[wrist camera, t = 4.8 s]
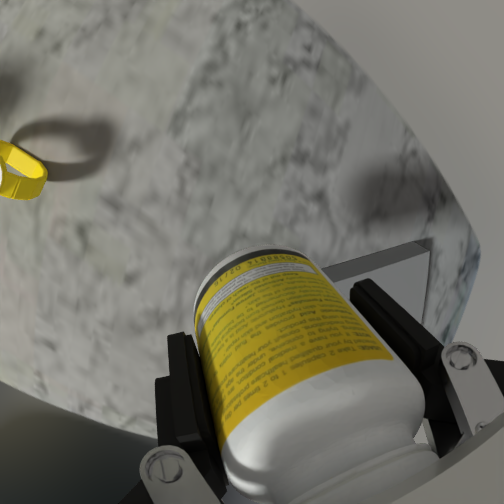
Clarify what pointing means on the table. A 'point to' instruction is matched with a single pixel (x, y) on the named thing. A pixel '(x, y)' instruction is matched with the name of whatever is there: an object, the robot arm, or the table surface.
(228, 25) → the table surface
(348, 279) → the block with square hole
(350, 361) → the supplement bottle
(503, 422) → the robot arm
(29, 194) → the watch
